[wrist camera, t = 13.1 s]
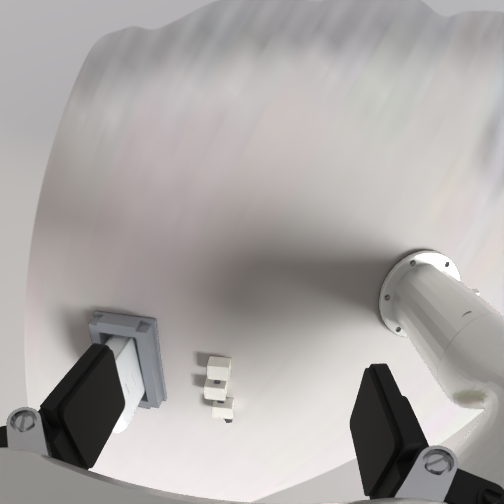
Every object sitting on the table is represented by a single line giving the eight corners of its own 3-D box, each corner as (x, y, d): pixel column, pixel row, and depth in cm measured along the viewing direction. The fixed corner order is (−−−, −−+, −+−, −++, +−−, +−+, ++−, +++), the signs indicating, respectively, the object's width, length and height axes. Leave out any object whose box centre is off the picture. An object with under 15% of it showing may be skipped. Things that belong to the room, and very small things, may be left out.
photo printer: (151, 387, 45) (124, 442, 33) (128, 384, 45) (97, 437, 34) (135, 331, 42) (97, 383, 30) (110, 330, 43) (69, 379, 31)
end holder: (156, 318, 42) (148, 329, 39) (167, 398, 46) (161, 411, 43) (95, 310, 43) (85, 320, 40) (112, 388, 47) (105, 399, 44)
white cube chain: (233, 357, 43) (231, 367, 41) (233, 417, 47) (232, 428, 44) (205, 355, 43) (202, 365, 41) (209, 415, 47) (206, 425, 45)
